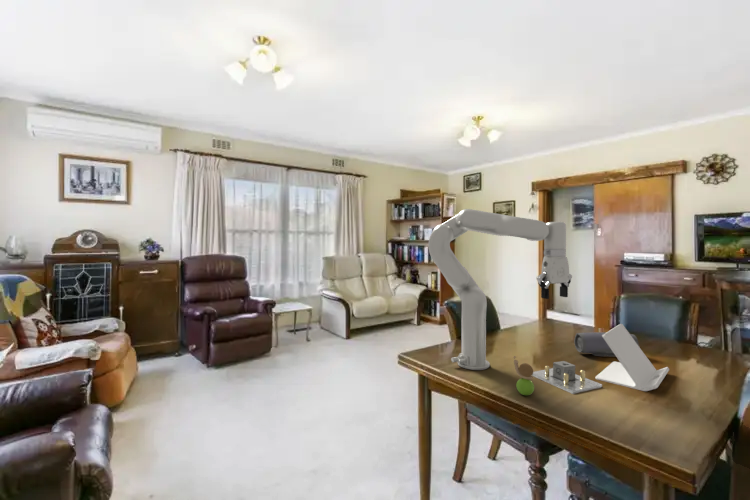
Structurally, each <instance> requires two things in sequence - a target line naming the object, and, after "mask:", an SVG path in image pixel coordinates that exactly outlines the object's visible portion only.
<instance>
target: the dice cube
mask: <svg viewBox="0 0 750 500" xmlns="http://www.w3.org/2000/svg"><path fill="white" fill-rule="evenodd" d="M552 368H553V376H554V377H556V378H558V379H561V380H563V381H564V373H567V374H569V376H568V380H575V374H576V365H575V364H573V363H570V362H569V361H565V360H562V361H561V360H560V361H554V362H553V363H552Z"/></svg>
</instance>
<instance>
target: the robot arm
mask: <svg viewBox="0 0 750 500" xmlns="http://www.w3.org/2000/svg"><path fill="white" fill-rule="evenodd" d="M469 231H471V232H477V233H482V234H487V235H492V236H498V237H499V236H500V237H502V236H503V237H504V236H505V237H509V236H510V237H515V238H521V239H525V240H527V241H531V242H532V241H533V242H537V241H538V242H539V241H544V243H543V244H544V245H543V247H544V250H543V259H542V264H541V273H540V274H539V275H537V276H536V280H537V284H538V286H539V287H540V294H541V295H540V298H541V299H545V300H549V299H550V288H549V286H550V284H559V285H560V286H559V296H560V297H561V298H568V296H569V293H568V292H569V287H570V284H571V281H572V278H573V275H572V274H571V273H570V267H569V265H570V264H569V260H568V257H567V225H566V222H564V221H549V222H544V221H543V220H539V219H538V220H537V219H533V218H532V219H531V218H526V217H520V216H513V215H508V214H501V213H494V212H489V211H484V210H478V209H471V208H465V209H462V210H460V211H459V212H458V213H457V214H455V216H453V217H451V218H449V219H447V221H445V222H443V223H441V224H438V225H436V226H435V227H434V228H433V229H432V232H431V234H430V236H429V238H428V252H429V256H430V257H431V260H432V261H433V262H434V264H435V266H436V267H437V268H438V270H439V272H440V273H441V274H442V276H443V277H444V279H445V280H446V283H447V284H448V285H449V286H450V287H451V288H452V290H453V291H454V292H455V293H456V295H457V296H458V298H459V299H460V301H461V325H460V326H461V352H460V353H459V354H458V356H454V357H451V358H450V360H451V363H457V365H458V366H459V367H461V368H463V369H466V370H470V371H482V370H483V371H484V370H487V369H489V368H490V367H491V363H490V362H489V360H487V357H486V355H487V354H486V353H487V349H486V348H487V344H486V343H487V340H486V339H487V321H486V320H487V308H488V307H487V305H488V303H487V302H488V301H487V296H486V294H485V292H484V291H483V290H482V289H481V288H480V286H479V285H478V284H477V282H476V281H475V279H474V278H473V277H472V275H471V274H470V272H469V271H468V270H467V268H466V267H465V266H463V263H461V262H460V261H459V259H458V258H457V256H456V254H455V253H454V251H453V250H452V248H451V242H452V241H454V240H455V239H457V238H459V237H461V236H462V235H464V234H465V233H467V232H469Z"/></svg>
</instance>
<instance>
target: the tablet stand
mask: <svg viewBox="0 0 750 500" xmlns="http://www.w3.org/2000/svg"><path fill="white" fill-rule="evenodd" d="M630 334H631V333H630V332H629V330H627V328H626V327H625V326H624V324H623V323H619V324H618V325H616V326H614V327H612V328H611V329H610V330H608V331H607V333H605V334H603V335H602V337H603V338H604V340H605V341H606V343H607V344H608V346H609V347H610V348H611V350H612V351H613V353H614V354H615V356H616V358H617V360H618V361H612V362H611V363H610V364H608V365H607V366H606V367H605V368H604V369H603V370H601V372H600V373H598V374H597V375H595V380H597V381H602V382H606V383H610V384H612V385H613V384H614V385H618V386H622V387H626V388H629V389H630V388H631V389H633V390H639V391H642V392H648V391H652V390H656V389H658V388H659V386H660V384H661V383H662V382H663V380H664V379H665V377H666V375H667V374H668V372H669V371H670V368H669V367H668V366H666V367H663V368H660V369H656V368H655V366H654V365H653V363H652V362H651V361H650V360H649V358H648V357H647V356H646V354H645V353H644V351H643V350H642V349H641V348H640V345H639V346H638V345H637V343H636V342H635V341H634V339H633V338H632V336H631V335H630Z"/></svg>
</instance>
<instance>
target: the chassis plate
mask: <svg viewBox="0 0 750 500" xmlns="http://www.w3.org/2000/svg"><path fill="white" fill-rule="evenodd" d="M579 373H580V375H579V374H576V373H575V380H568V376H569V374H567V373H564V381H563V380H561V379H558V378H556V377H554V376H553V367H550V366H549V365H545V366H544V369H540V370H535V371H533V374H532V375H531V376H532V377H533V378H536V379H538V380H541V381H543V382H545V383H546V384H547V383H548V384H549V385H551V386H553V387H556V388H558V389H561V390H563V391H565V392H567V393H570V394H572V395H574V394H578V393H583V392H587V391H592V390H595V389H597V390H598V389H600V388H602V387H603V384H602V383H599V382H598V381H594V380H591V379H589V378H587V377H586V370H584V369H580V371H579Z"/></svg>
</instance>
